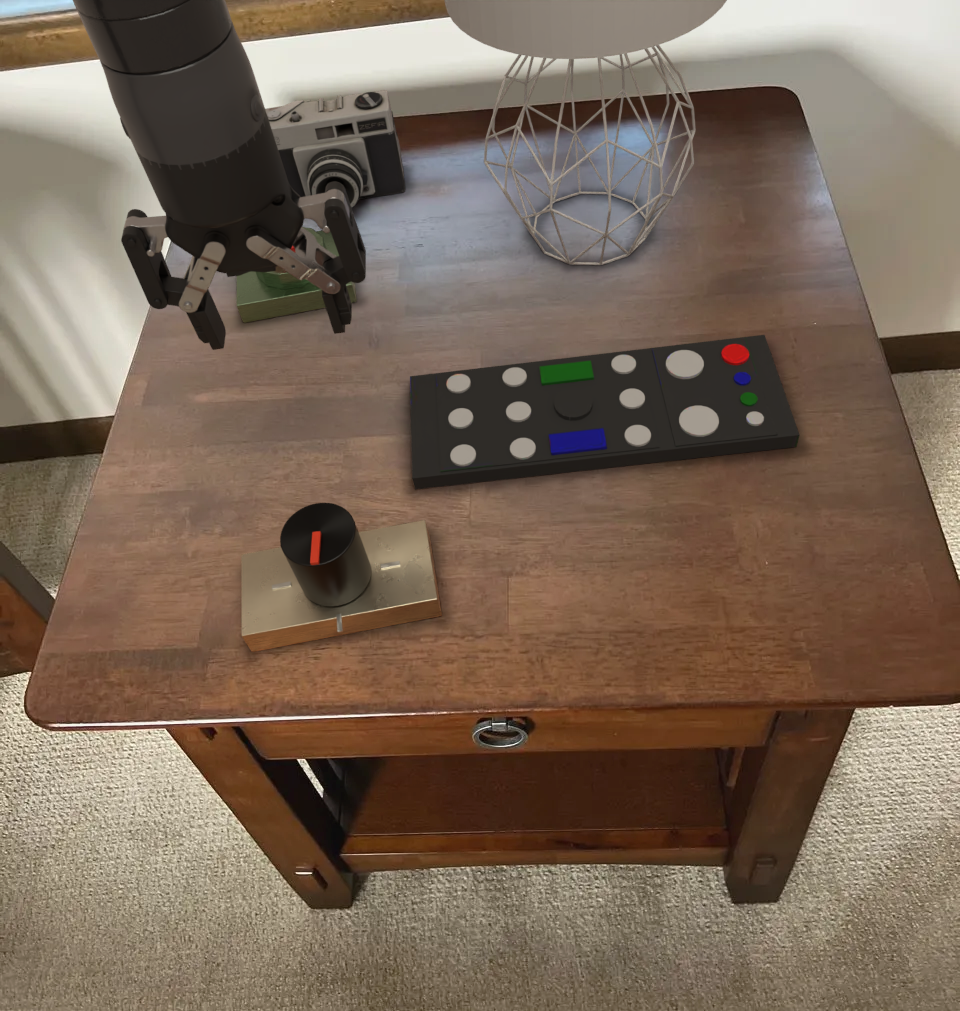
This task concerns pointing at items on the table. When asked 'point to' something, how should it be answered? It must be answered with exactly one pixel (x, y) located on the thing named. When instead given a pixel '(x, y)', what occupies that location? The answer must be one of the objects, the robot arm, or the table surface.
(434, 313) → the table surface
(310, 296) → the box
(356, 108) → the camera
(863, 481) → the table surface
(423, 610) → the panel
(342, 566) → the hob knob
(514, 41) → the table lamp
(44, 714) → the table surface
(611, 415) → the remote control
